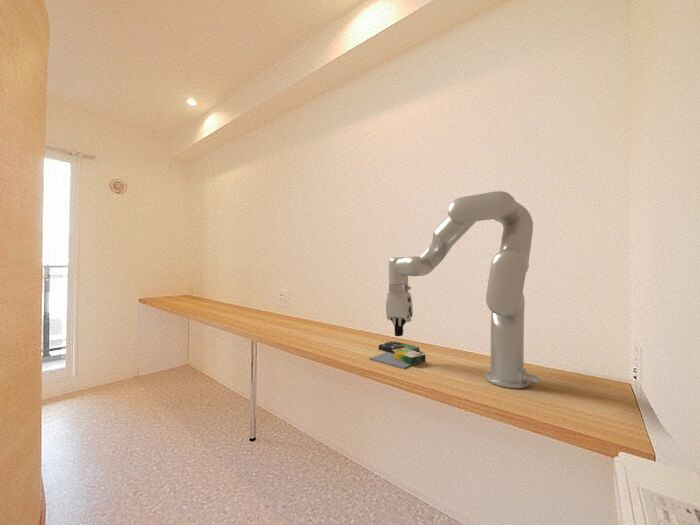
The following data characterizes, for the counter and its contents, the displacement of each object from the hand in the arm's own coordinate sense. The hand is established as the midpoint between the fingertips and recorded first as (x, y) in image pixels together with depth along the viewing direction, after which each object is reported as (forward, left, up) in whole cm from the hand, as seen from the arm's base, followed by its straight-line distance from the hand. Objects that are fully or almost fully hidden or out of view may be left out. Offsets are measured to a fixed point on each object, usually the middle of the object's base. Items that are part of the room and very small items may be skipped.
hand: (398, 335), depth 120 cm
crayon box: (-9, 0, -8) cm, 12 cm away
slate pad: (+1, +1, -10) cm, 10 cm away
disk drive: (+8, -12, -11) cm, 17 cm away
